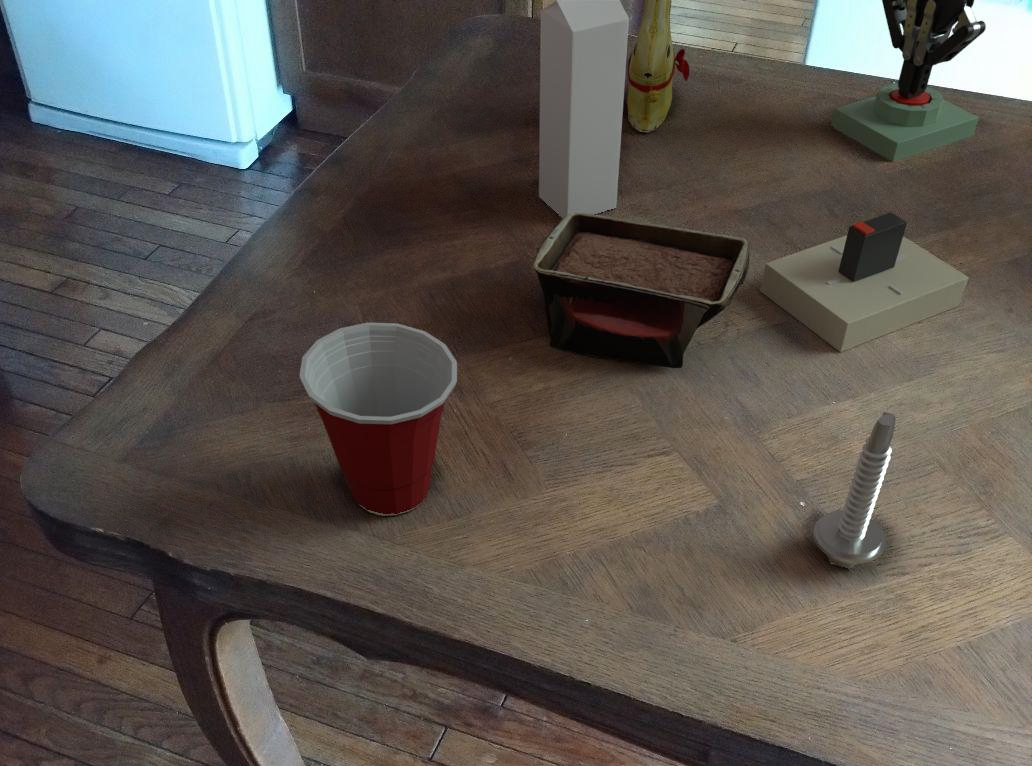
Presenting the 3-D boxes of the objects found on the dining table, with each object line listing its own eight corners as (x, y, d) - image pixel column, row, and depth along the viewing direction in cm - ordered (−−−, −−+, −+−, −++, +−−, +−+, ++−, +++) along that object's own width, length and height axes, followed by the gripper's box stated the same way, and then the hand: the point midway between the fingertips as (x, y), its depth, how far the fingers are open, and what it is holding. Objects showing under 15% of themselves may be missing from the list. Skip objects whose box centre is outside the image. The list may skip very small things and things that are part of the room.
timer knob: (878, 257, 97) (891, 209, 93) (894, 267, 95) (908, 219, 92) (837, 271, 95) (849, 223, 92) (853, 282, 94) (865, 234, 90)
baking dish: (586, 281, 104) (571, 188, 97) (767, 299, 96) (766, 199, 89) (526, 373, 96) (505, 279, 89) (718, 400, 88) (713, 299, 81)
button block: (909, 103, 125) (918, 68, 122) (973, 136, 119) (984, 101, 116) (830, 127, 121) (837, 92, 118) (892, 162, 115) (901, 126, 112)
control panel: (874, 250, 103) (882, 221, 101) (959, 306, 96) (970, 275, 94) (759, 291, 99) (765, 261, 96) (840, 352, 92) (848, 322, 89)
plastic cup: (448, 550, 76) (439, 422, 68) (305, 534, 78) (278, 406, 69) (476, 451, 84) (471, 324, 75) (344, 438, 85) (324, 312, 77)
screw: (865, 528, 77) (888, 578, 74) (800, 533, 77) (819, 583, 74) (912, 386, 68) (941, 436, 64) (838, 391, 67) (862, 441, 64)
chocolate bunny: (619, 138, 120) (628, -2, 110) (630, 97, 128) (640, -38, 117) (679, 143, 119) (695, 2, 108) (687, 101, 127) (703, -35, 116)
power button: (907, 99, 120) (911, 84, 119) (933, 113, 118) (937, 97, 116) (880, 108, 119) (884, 92, 118) (906, 121, 116) (910, 105, 115)
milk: (538, 198, 111) (538, -28, 96) (588, 184, 113) (596, -40, 97) (567, 224, 108) (572, -7, 92) (618, 209, 109) (631, -20, 94)
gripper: (880, -91, 107) (842, 81, 120) (979, -54, 99) (928, 126, 112) (935, -103, 110) (892, 67, 122) (1036, -68, 102) (979, 110, 114)
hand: (909, 95), depth 117 cm, fingers closed
